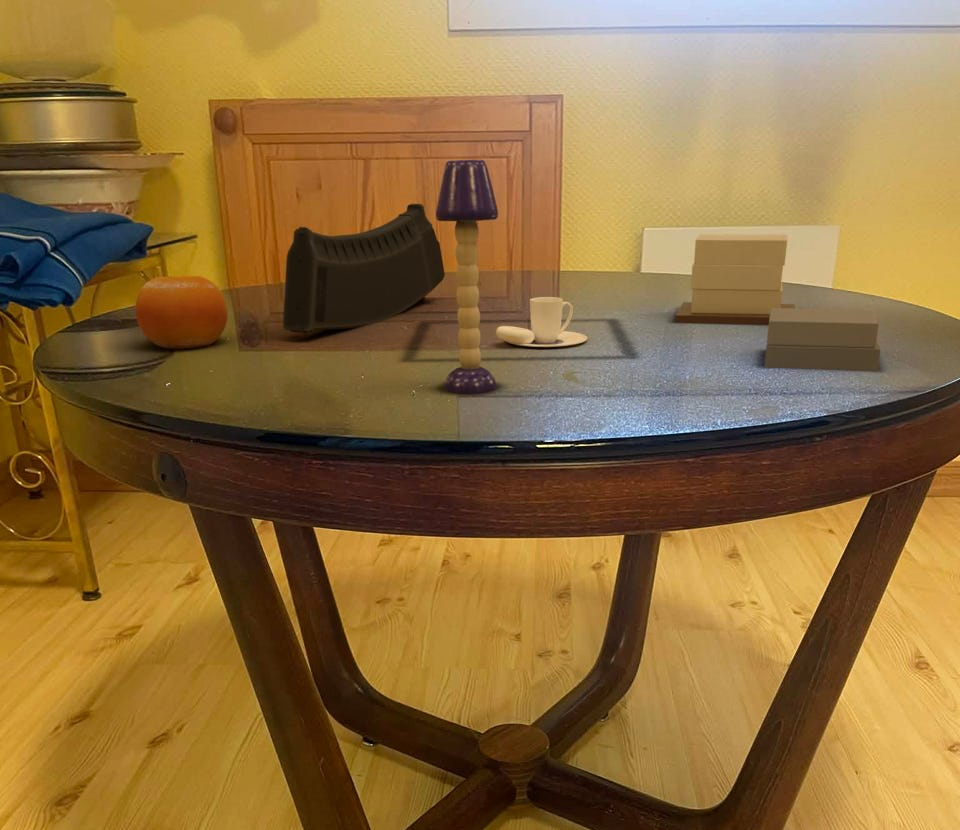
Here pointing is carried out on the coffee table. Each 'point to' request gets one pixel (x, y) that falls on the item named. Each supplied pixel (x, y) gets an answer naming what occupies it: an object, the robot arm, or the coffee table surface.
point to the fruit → (181, 311)
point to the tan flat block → (740, 249)
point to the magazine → (360, 273)
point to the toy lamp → (467, 264)
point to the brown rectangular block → (822, 339)
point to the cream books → (733, 294)
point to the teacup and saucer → (543, 325)
